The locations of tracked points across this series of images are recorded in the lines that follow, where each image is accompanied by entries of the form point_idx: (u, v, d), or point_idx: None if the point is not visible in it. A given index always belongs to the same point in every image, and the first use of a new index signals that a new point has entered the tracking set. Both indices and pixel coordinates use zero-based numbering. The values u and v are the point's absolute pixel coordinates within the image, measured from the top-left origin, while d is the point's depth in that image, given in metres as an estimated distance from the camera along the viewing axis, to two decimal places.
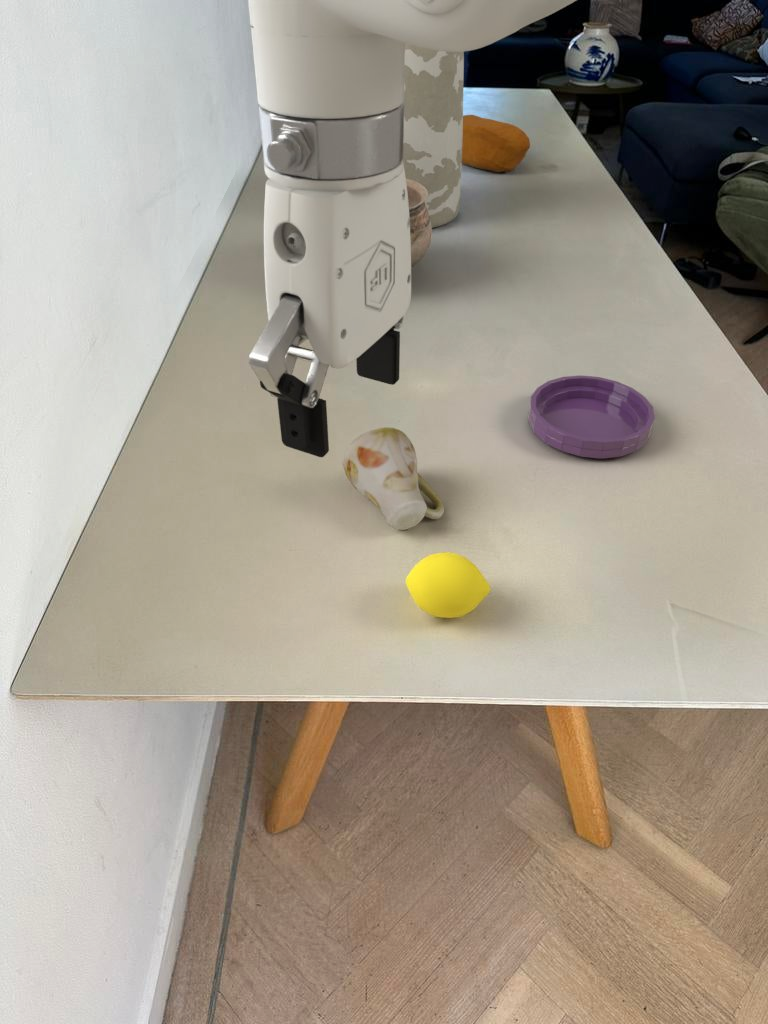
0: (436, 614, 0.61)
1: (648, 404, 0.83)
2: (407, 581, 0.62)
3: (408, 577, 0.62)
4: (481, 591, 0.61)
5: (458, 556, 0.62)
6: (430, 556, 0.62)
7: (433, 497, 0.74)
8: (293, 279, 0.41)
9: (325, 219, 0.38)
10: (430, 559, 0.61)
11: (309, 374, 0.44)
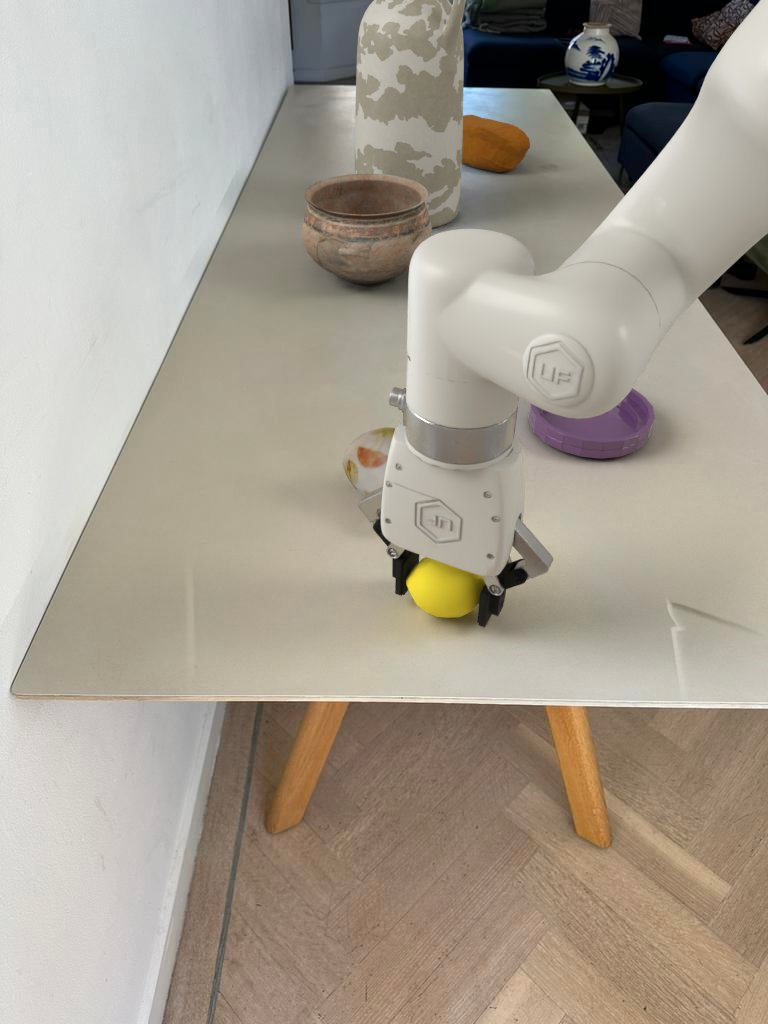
0: (436, 614, 0.61)
1: (648, 404, 0.83)
2: (407, 581, 0.62)
3: (408, 577, 0.62)
4: None
5: None
6: None
7: None
8: None
9: (390, 448, 0.54)
10: (430, 560, 0.61)
11: None
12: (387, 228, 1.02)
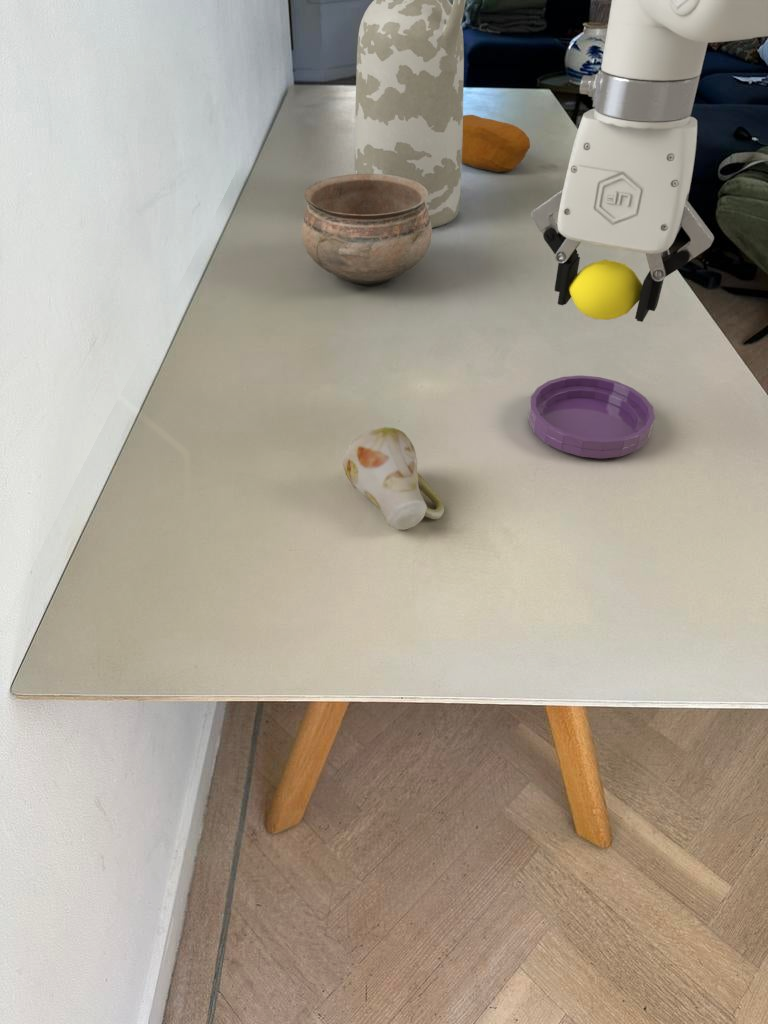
0: (599, 312, 0.70)
1: (648, 404, 0.83)
2: (571, 287, 0.71)
3: (572, 283, 0.71)
4: (639, 290, 0.70)
5: (617, 262, 0.70)
6: (592, 263, 0.71)
7: (433, 497, 0.74)
8: None
9: (579, 131, 0.62)
10: (594, 263, 0.70)
11: (564, 240, 0.69)
12: (387, 228, 1.02)
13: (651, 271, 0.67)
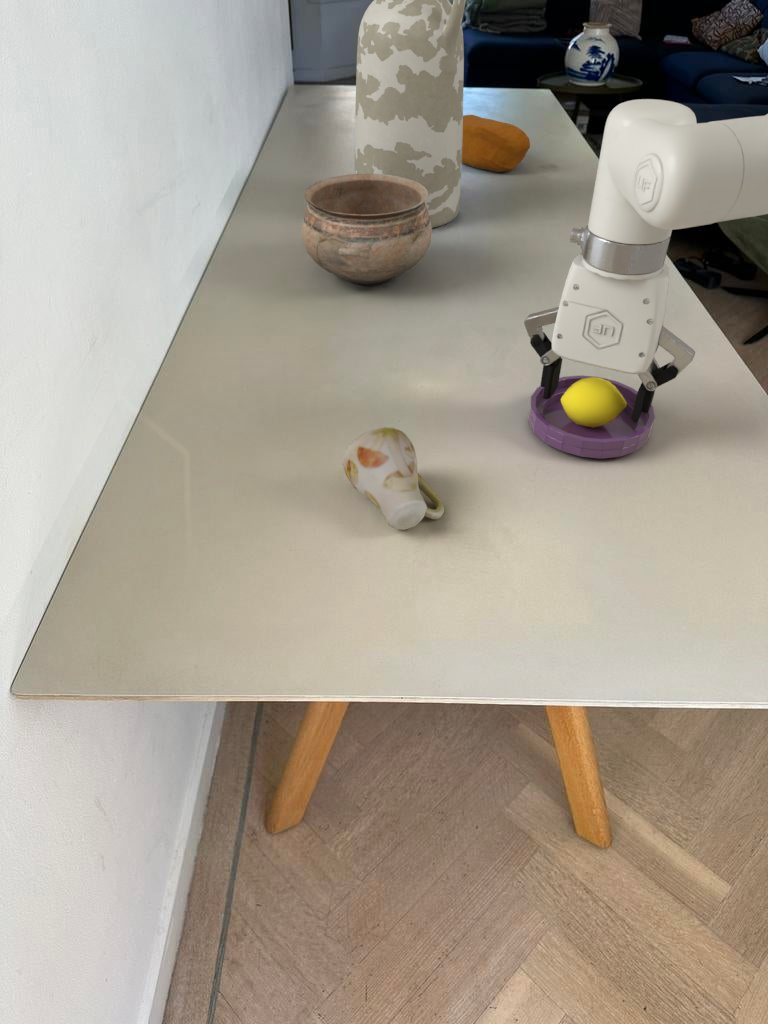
0: (586, 422, 0.81)
1: None
2: (562, 399, 0.82)
3: (563, 396, 0.82)
4: (621, 404, 0.81)
5: (602, 379, 0.82)
6: (580, 380, 0.82)
7: (433, 497, 0.74)
8: None
9: (569, 274, 0.73)
10: (582, 381, 0.81)
11: (551, 348, 0.80)
12: (387, 228, 1.02)
13: (645, 382, 0.77)
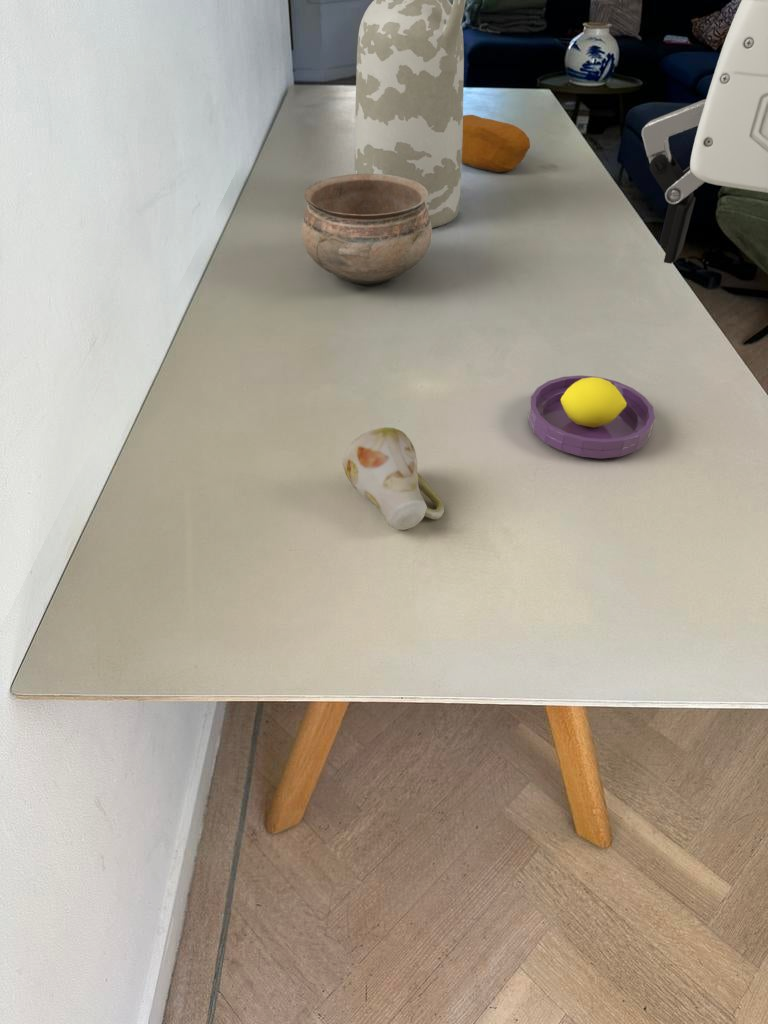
0: (586, 422, 0.81)
1: (648, 404, 0.83)
2: (562, 399, 0.82)
3: (563, 396, 0.82)
4: (621, 404, 0.81)
5: (602, 379, 0.82)
6: (580, 380, 0.82)
7: (433, 497, 0.74)
8: None
9: (737, 21, 0.43)
10: (582, 381, 0.81)
11: (685, 173, 0.50)
12: (387, 228, 1.02)
13: None
